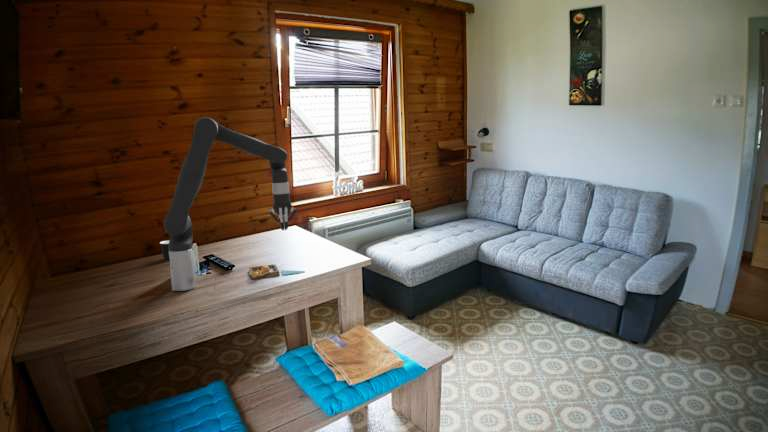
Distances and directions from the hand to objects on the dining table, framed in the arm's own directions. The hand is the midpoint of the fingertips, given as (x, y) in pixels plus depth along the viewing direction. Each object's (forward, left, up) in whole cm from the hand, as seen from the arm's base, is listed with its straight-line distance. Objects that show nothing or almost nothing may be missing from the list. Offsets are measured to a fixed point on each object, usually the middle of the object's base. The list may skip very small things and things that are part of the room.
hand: (284, 229), depth 201 cm
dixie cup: (-53, +48, -20) cm, 75 cm away
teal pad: (+2, 0, -20) cm, 20 cm away
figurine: (-9, +1, -19) cm, 21 cm away
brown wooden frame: (-10, +2, -20) cm, 22 cm away
